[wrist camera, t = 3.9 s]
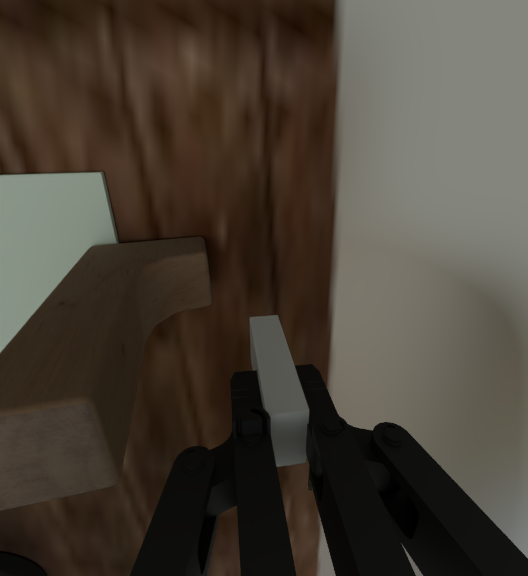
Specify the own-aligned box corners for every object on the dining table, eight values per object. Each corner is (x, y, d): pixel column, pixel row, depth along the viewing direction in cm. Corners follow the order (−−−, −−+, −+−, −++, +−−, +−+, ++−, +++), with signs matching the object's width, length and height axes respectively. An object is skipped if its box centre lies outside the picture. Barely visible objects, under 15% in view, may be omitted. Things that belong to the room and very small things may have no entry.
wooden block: (203, 234, 27) (229, 377, 11) (209, 283, 29) (238, 463, 13) (88, 244, 25) (-73, 429, 10) (102, 295, 27) (-12, 518, 11)
